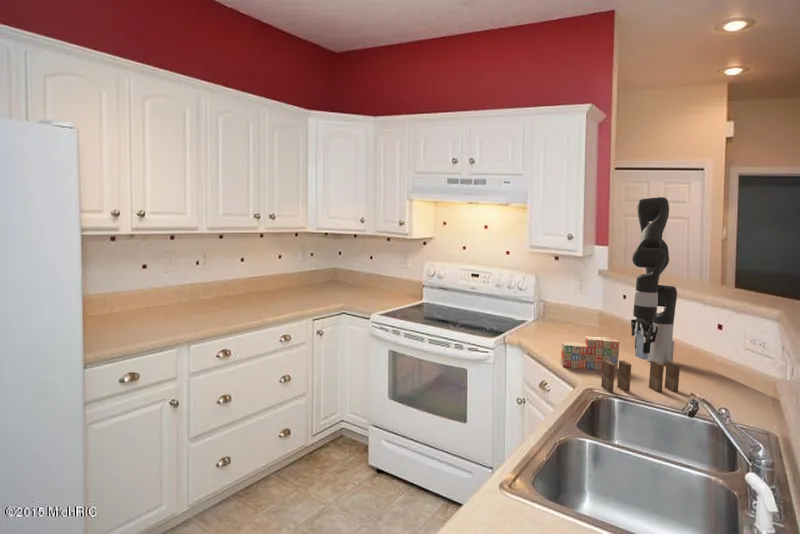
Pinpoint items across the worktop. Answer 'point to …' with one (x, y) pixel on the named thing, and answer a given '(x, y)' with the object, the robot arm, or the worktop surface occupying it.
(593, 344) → the stack of blocks
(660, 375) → the domino
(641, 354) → the domino
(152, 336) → the worktop surface
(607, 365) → the domino end
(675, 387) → the domino
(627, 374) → the domino
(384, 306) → the worktop surface
